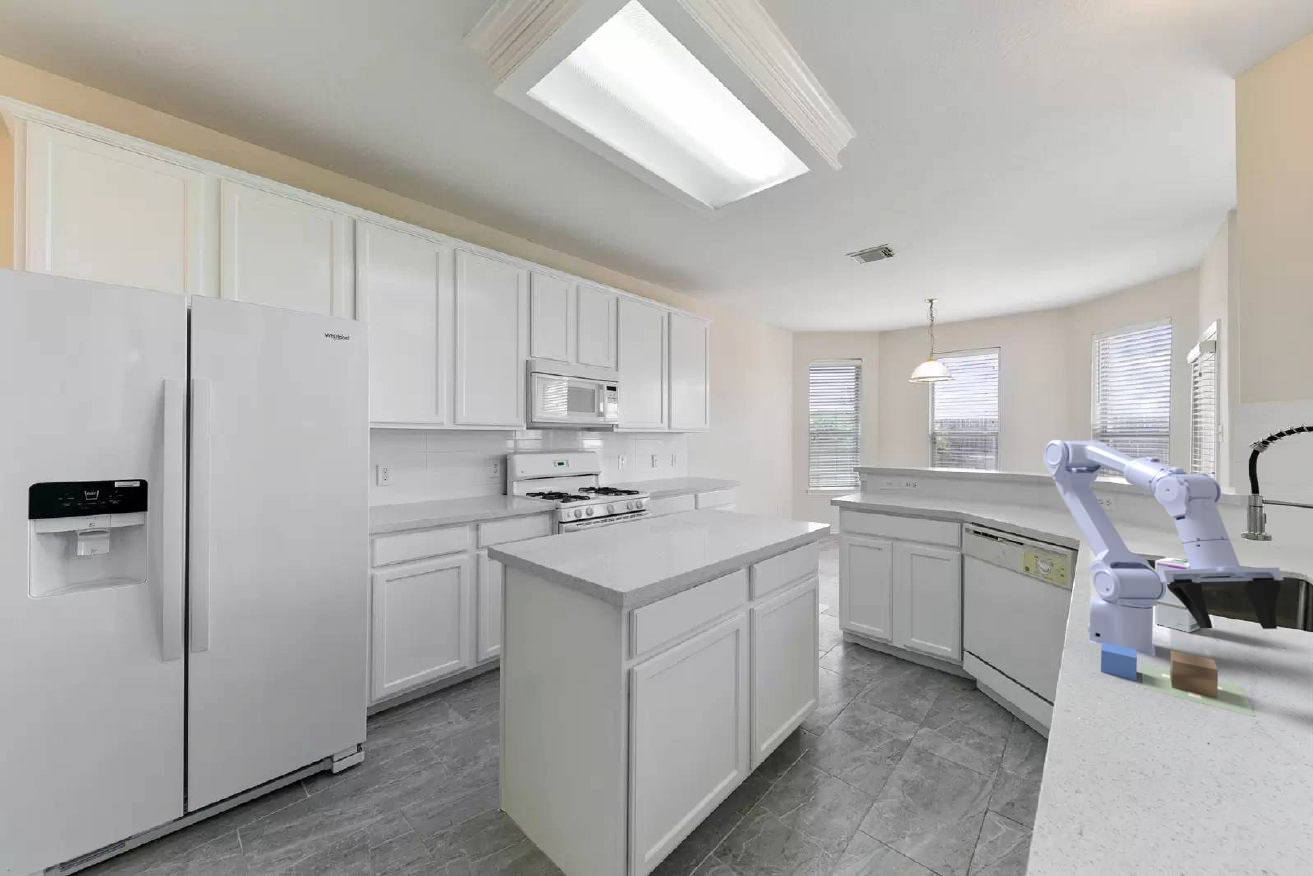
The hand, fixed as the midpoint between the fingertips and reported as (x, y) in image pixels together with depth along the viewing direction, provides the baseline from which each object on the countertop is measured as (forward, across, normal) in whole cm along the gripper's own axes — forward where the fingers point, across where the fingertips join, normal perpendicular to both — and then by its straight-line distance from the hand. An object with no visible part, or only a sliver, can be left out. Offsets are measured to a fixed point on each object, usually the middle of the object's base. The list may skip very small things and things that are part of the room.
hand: (1237, 628), depth 81 cm
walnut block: (+9, -6, +4) cm, 12 cm away
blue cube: (+8, -15, +6) cm, 18 cm away
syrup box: (-1, +8, +38) cm, 39 cm away
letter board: (+10, -6, +4) cm, 12 cm away
